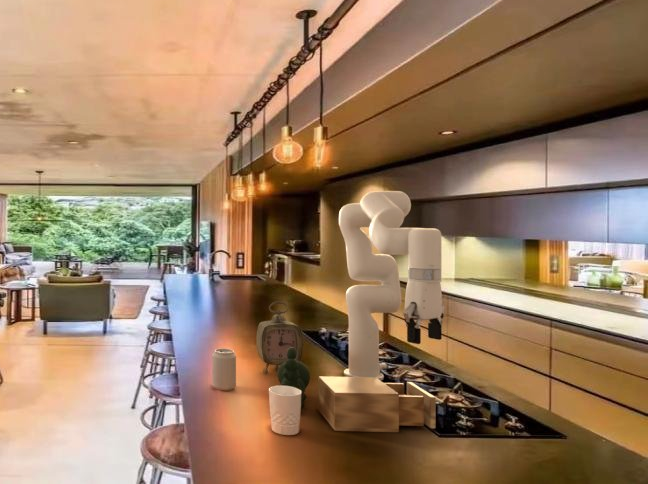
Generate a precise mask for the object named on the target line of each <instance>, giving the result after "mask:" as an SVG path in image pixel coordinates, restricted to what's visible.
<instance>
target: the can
mask: <svg viewBox="0 0 648 484" xmlns="http://www.w3.org/2000/svg"><path fill="white" fill-rule="evenodd" d="M211 357H212V358H211V359H212V362H211V363H212V365H211V367H212V368H211V369H212V372H211V373H212V375H211V376H212V377H211V378H212V379H211V381H212V382H211V383H212V386H213V387H214V389H216V390H218V391H226V392H227V391H232V390H234V389H235V388H236V387H237V355H236V354H235V351H234V350H233V349H231V348H216V349H214V352H213V353H212V355H211Z"/></svg>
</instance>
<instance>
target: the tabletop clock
mask: <svg viewBox="0 0 648 484" xmlns="http://www.w3.org/2000/svg"><path fill="white" fill-rule="evenodd" d="M278 304H280V305H284V306H285V307H286V309H285V310H282V311H281V309H276V310H277V311H274V310H272V309H271V307H272V306H273V305H278ZM268 310H269V311H270V313H273V314H274V315H272V317H271V318H270V320H264V321H261V322H259V324H258V326H257V329H256V340H255V341H256V342H255V343H256V351H257V356H258V357H259V358H260V359H261V361H263V363H265V364H266V365H265V368H264V369H263V370H262V371H263V373H264V374H266V375H267V374H268V373H269V370H268V368H269V366H270V365H271V366H273V368H274V370H275V371H278V369H279V367H280V365H281V364H282V363H283V362H285V361H286V360H288V358H287V350H288V349H289V348H290V347H293V348H295V350H296V358H295V359H294V360H298V361H300V362H301V360H302V356H303V346H304V343H303V341H304V340H303V333H302V329H301V327H300V326H299V325H297V324H296V323H294V322H291V321H289V320H287V318H286V317H285V315H283V314H285V313H287V312H288V311H289V305H288V304H287V303H286V302H283V301H274V302H272V303H271V304H269V306H268Z"/></svg>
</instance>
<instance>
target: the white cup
mask: <svg viewBox="0 0 648 484" xmlns="http://www.w3.org/2000/svg"><path fill="white" fill-rule="evenodd" d="M301 393H302V392H301V390H299V389H297V388H295V387H291V386H281V384H280V385H273V386H270V387H269V388H268V398H269V399H268V400H269V417H270V428H271V431H273V432H274V433H275V434H278V435H282V436H294V435H297V434H298V433H299V432H300V422H301V411H302V409H301Z"/></svg>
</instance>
